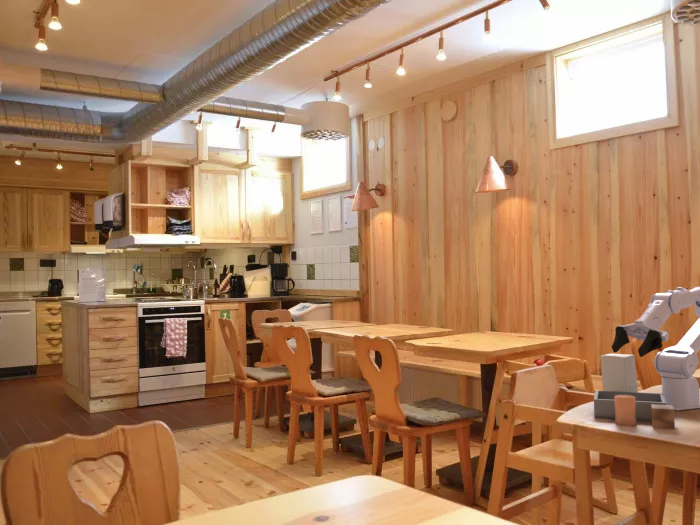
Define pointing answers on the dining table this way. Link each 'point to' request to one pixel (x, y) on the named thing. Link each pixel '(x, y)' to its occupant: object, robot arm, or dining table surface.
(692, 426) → the dining table surface
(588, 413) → the dining table surface
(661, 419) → the walnut block
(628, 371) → the skincare box
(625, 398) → the terracotta cylinder
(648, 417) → the tote
